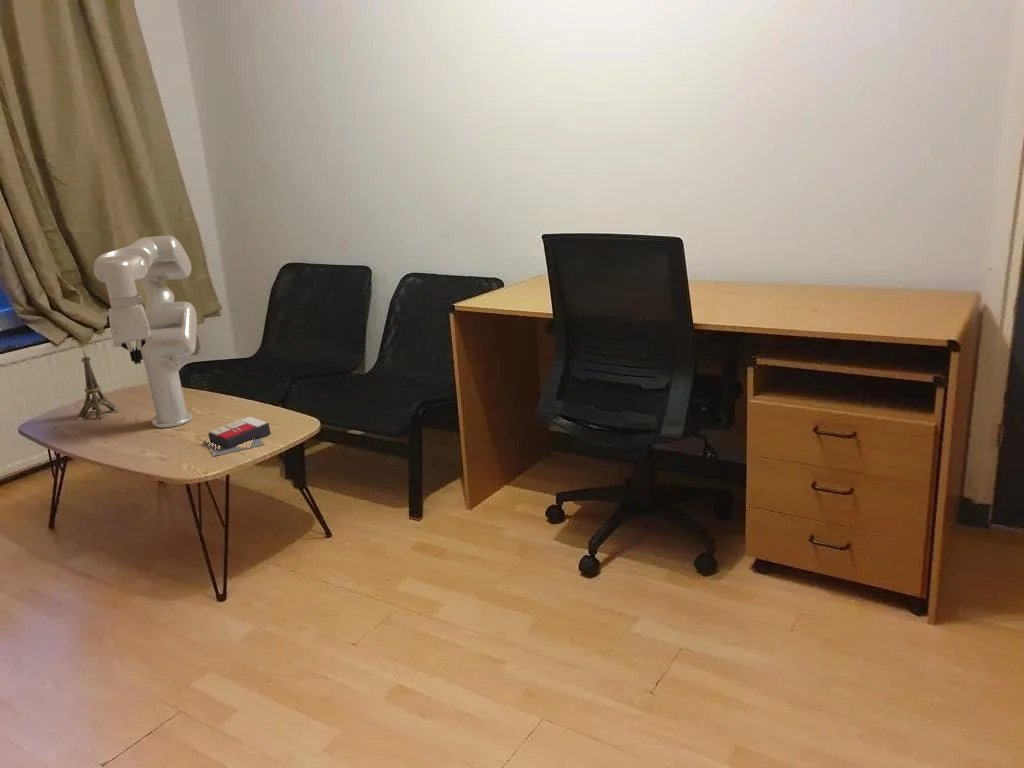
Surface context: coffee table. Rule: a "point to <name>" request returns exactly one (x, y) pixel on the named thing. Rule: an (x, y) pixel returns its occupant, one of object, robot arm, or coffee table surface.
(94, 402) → the eiffel tower
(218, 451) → the desk mat
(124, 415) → the coffee table surface
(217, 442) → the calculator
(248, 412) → the coffee table surface
